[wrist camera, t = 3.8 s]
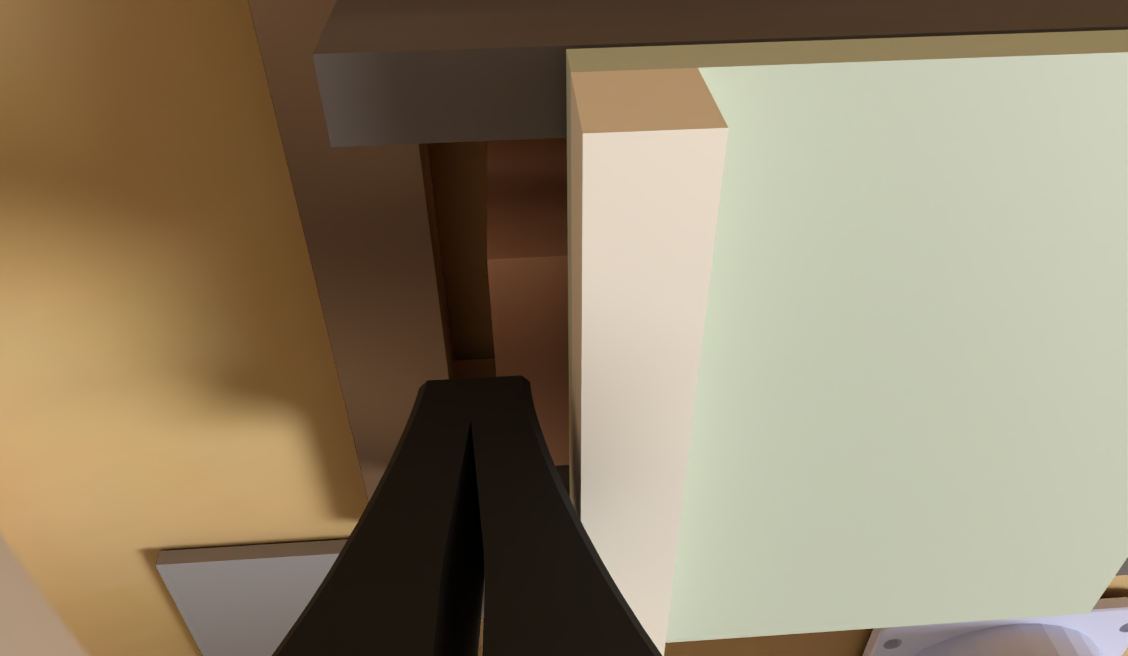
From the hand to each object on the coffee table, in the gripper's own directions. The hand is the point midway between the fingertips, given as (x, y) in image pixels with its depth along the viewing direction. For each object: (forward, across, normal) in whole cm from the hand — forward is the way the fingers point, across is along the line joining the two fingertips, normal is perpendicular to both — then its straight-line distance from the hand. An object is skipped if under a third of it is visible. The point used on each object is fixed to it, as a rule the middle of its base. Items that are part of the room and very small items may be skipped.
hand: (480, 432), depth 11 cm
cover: (0, -6, 0) cm, 6 cm away
